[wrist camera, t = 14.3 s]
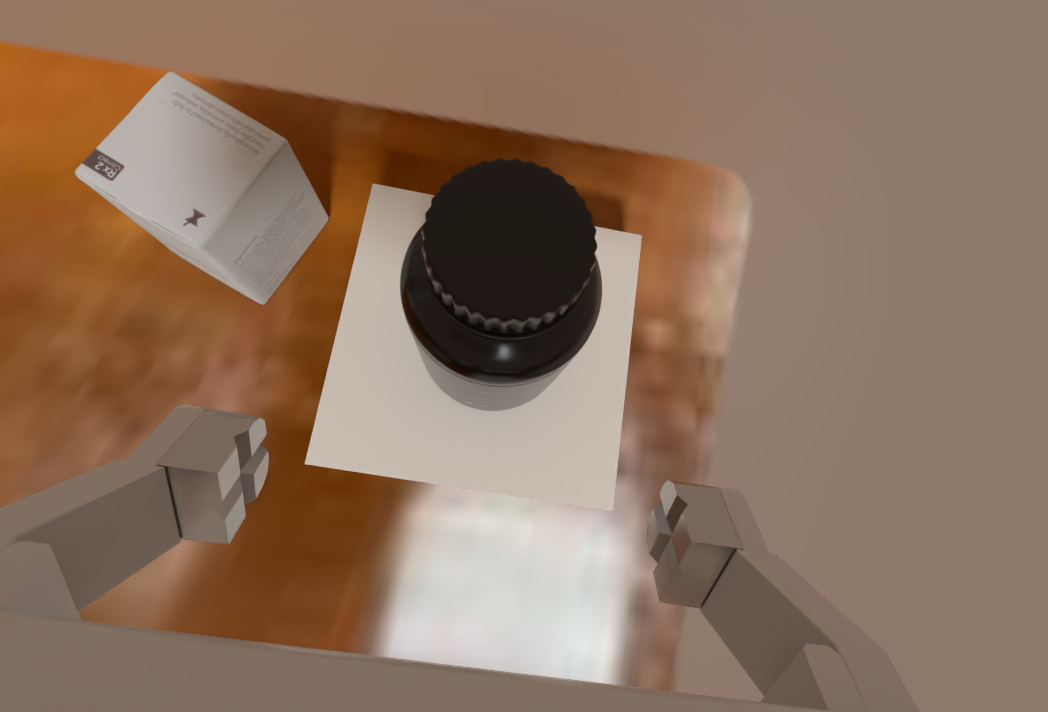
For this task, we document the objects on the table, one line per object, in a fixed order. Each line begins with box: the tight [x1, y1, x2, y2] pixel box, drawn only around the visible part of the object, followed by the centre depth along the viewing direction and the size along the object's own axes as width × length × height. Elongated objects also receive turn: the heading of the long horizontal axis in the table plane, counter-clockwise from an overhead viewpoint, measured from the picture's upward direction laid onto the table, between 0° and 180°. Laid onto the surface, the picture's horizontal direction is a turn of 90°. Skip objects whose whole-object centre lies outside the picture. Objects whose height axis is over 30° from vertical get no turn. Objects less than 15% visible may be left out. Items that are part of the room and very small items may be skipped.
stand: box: [305, 184, 642, 511], centre depth 27 cm, size 14×14×3 cm
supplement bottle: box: [400, 158, 602, 411], centre depth 20 cm, size 7×7×12 cm
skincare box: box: [75, 71, 329, 304], centre depth 25 cm, size 6×6×7 cm
